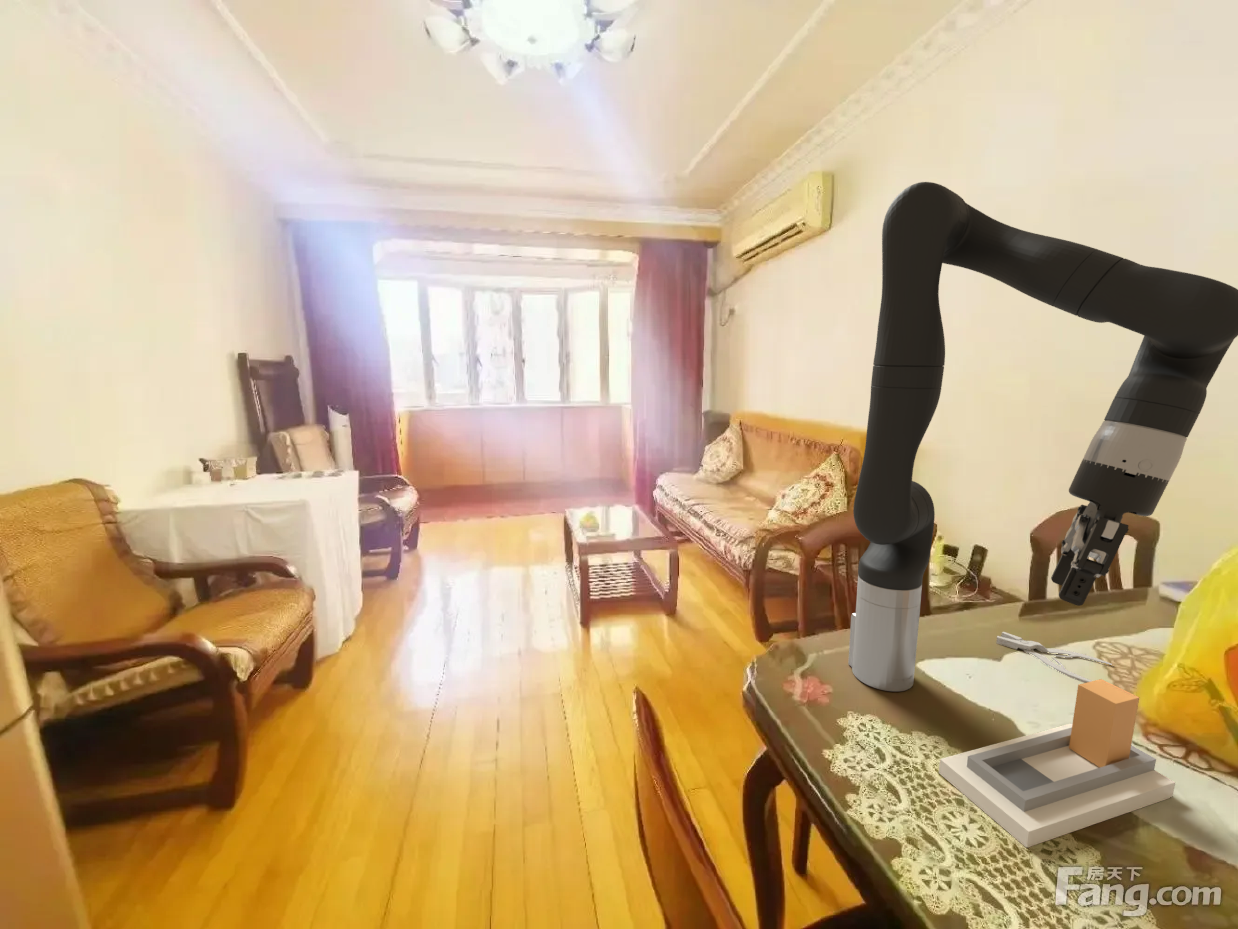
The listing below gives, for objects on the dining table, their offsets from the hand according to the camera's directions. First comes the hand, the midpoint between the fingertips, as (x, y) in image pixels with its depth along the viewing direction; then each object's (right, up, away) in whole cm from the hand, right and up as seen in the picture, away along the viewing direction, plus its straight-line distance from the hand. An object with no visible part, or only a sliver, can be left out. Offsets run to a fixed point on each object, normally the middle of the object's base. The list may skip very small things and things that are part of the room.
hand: (1064, 592), depth 63 cm
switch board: (-1, -24, +1) cm, 24 cm away
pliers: (+22, -19, +29) cm, 41 cm away
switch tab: (+6, -21, +2) cm, 22 cm away
